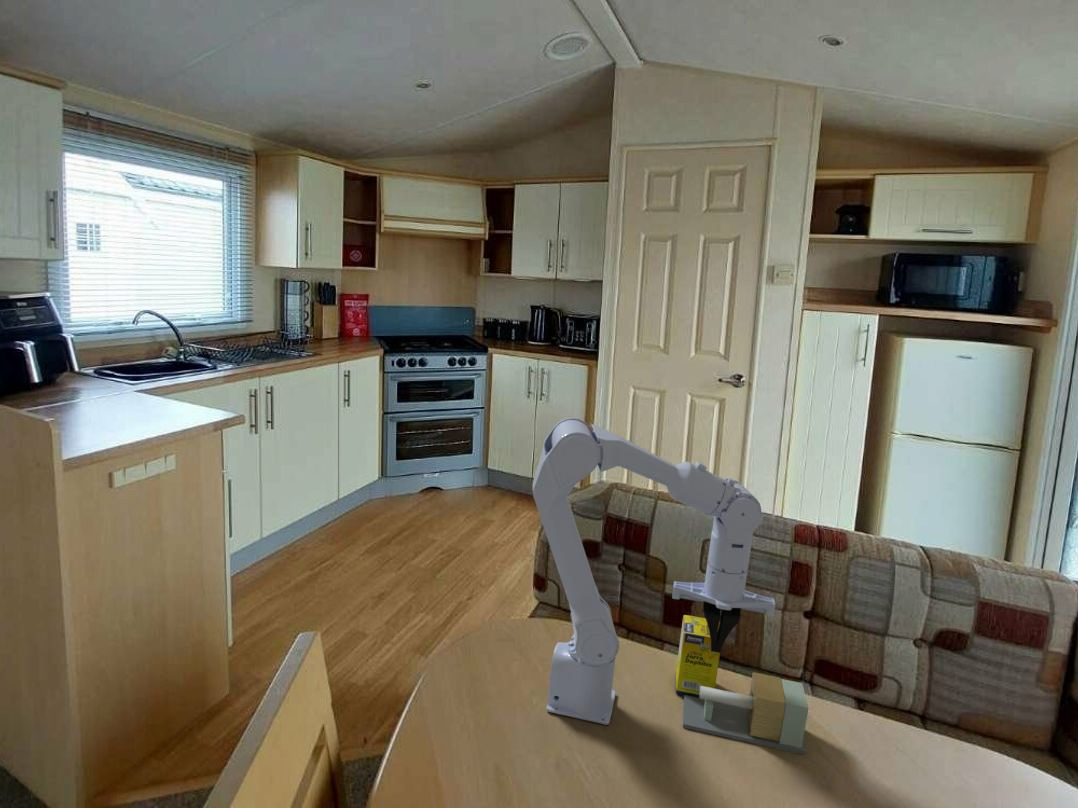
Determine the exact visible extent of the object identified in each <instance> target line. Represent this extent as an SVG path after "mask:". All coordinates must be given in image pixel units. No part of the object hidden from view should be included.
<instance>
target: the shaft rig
mask: <svg viewBox="0 0 1078 808" xmlns="http://www.w3.org/2000/svg"><path fill="white" fill-rule="evenodd" d="M781 683H782V688H783V693H784V698H785V703H786V704H785V710H784V716H783V722H782V728H781V734H780V740H779V741H774V740H770V739H765V738H761V737H756V736H752V735H750V730H749V721H748V712H747V709H751V710H752V707H753V696H749V694H748V695H746V694H743V693H739V692H733V691H728V690H724V689H723V690H722V689H719V688H715V689H714V688H710V687H705V686H700V695H699V698H696V697H691V696H687V695H684V696H683V711H682V712H683V715H682V719H683V720H682V728H683V729H687V730H693V731H696V732H701V733H706V734H709V735H715V736H720V737H723V738H729V739H732V740H737V741H742V742H744V743H745V742H746V743H749V742H750V744H754V743H755V744H754V745H758V744H759V746H762V747H768V748H771V749H777V750H781V751H786V752H791V753H795V754H800V755H803V756H805V755H806V752H807V751H806V747H805V742H804V736H805V730H806V726H807V725H806V724H807V720H808V713H809V705H808V701H807V697H806V694H805V689H804V685H803V682H799V681H793V680H789V679H784V678H781Z"/></svg>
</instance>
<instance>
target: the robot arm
mask: <svg viewBox="0 0 1078 808" xmlns="http://www.w3.org/2000/svg"><path fill="white" fill-rule="evenodd" d="M591 427H592V428H591ZM591 427H590V425H589V424H588V423H587V422H586V421H584V420H583V419H580V418H578V417H568V418H567V417H566V418H563V419H562V420H560V421H558V422H557V423H556V424H555V425H554V426H553V428H552V429H551V430H550V431H549V433H548V434H547V436H546V437H545V438H544V439H543V440H544V441H543V445H542V451H541V455H540V457H539V460H538V461H539V462H538V463H537V467H536V471H535V475H534V477H533V481H532V494H533V496H532V497H533V499H534V502H535V505H536V508H537V511H538V514H539V517H540V521H541V523H542V526H543V529H544V532H545V536H546V539H547V541H548V545H549V547H550V550H551V553H552V557H553V560H554V563H555V565H556V569H557V571H558V574H559V578H560V581H561V583H562V587H563V589H564V592H565V595H566V598H567V601H568V604H569V605H568V606H569V609H570V621H571V623H572V628H573V634H572V637H570V639H569V641H568V642H560V641H559V642H557V643H556V645H555V647H554V650H553V654H552V657H551V658H552V659H551V665H550V672H549V673H550V674H549V675H550V676H549V682H548V683H549V685H548V694H547V695H548V697H547V706H546V711H547V712H549V713H554V714H558V715H562V716H567V717H571V718H575V719H578V720H579V719H580V720H584V721H588V722H593V723H598V724H602V725H605V726H606V725H607V726H608V725H610V722H611V718H612V714H613V709H614V702H615V699H616V690H614V689H613V684H614V673H615V665H616V657H617V655H618V654H619V651H620V640H619V637H618V635H617V632H616V630H615V626H614V622H613V618H612V609H611V607H610V606H609V604H608V603H607V602H606V601H605V600H604V598H602V596H601V595H600V593H599V590H598V587H597V585H596V583H595V579H594V576H593V573H592V570H591V569H592V568H591V567H590V563H589V560H588V557H587V555H586V554H587V553H586V551H585V548H584V545H583V541H582V539H581V536H580V533H579V530H578V527H577V524H576V520H575V517H574V513H573V511H572V508H571V505H570V502H569V499H568V496H569V495H570V493H571V492H572V491H573V489H574V488H575V487H576V486H577V484H578V483H579V482H581V481H582V480H583V479H585V478H586V477H588V476H589V475H591V473H593V472H594V471H595V470H596V468H597V466H598V468H599V471H600V472H601V473H603V472H605V471H608V470H610V469H614V468H616V467H620V468H623V469H625V470H628V471H630V472H632V473H635V474H637V475H639V476H641V477H644V478H646V479H649V480H651V481H654V482H657V484H660V485H663V486H665V487H666V489H667V492H668V495H669V497H670V498H671V499H672V500H675V501H677V502H679V503H681V504H683V505H685V506H686V507H687V506H688V507H689V508H692V509H694V510H696V511H698V512H699V513H702V514H704V515H706V516H709V517H713V523H712V529H711V536H710V542H709V549H708V554H707V555H708V556H707V563H706V564H707V565H706V572H705V578H704V582H685V581H676V580H675V581H673V589H672V597H671V598H672V599H673V600H680V599H684V600H690V601H694V602H695V601H696V602H701V603H702V612H703V615H704V618H705V619H706V621H707V624H708V628H709V632H710V637H711V651H713V652H718V653H720V654H721V652H722V649H723V646H724V644H725V641H726V640H727V638H728V636H729V634H730V633H731V632H732V630H733V629H734V628H735V626H737V625H738V623H739V622H740V620H741V615H742V613H741V611H742V610H745V611H750V612H751V611H752V612H756V613H761V614H762V613H763V614H765V616H767V617H774V616H775V611H776V610H775V609H776V600H775V598H771V597H768V596H763V595H762V594H761V595H760V594H757V593H755V592H751V591H748V590H746V583H747V577H748V576H747V575H748V570H749V562H750V557H751V549H752V543H753V536H754V532H755V530H757V528H758V527H760V525H761V523H762V522H763V519H764V517H765V516H764V515H765V514H763V512H762V506H761V503H760V502H759V500H758V499H757V498H756V497H755V496H754V495H753V493H751V492H750V491H749V490H748V489H747V488H746V487H745V486H744V485H742V483H739V482H738V481H737V480H735V479H733V478H731V477H728V476H727V477H726V478H723V477H721V476H720V475H716V474H715V473H713V472H711V471H709V470H707V466H706V465H705V464H703V463H702V462H699V461H695V463H692V462H689V461H684V462H680V463H678V464H677V463H676V464H673V463H672V462H669V461H668V460H666V459H664V458H662V457H660V456H658V455H657V454H655V453H652V452H651V451H649V450H647V449H645V448H643V447H641V446H640V445H638V444H635V443H633V442H632V441H630V440H628V439H626V438H624V437H622V436H620V435H619V434H617V433H614V432H612V431H610V430H608V429H605V428H603V427H601V426H599V425H596V424H591ZM592 429H593V430H592ZM719 622H720V623H719ZM718 627H719V628H718Z"/></svg>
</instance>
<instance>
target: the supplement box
mask: <svg viewBox="0 0 1078 808" xmlns="http://www.w3.org/2000/svg"><path fill="white" fill-rule="evenodd" d="M719 623H720V622H719ZM718 628H719V627H718ZM720 656H721V653H718V652H713V651H711V637H710V632H709V628H708V624H707V621H706V619H705V617H699V616H693V615H687V614H684V615H683V617H682V623H681V632H680V638H679V646H678V653H677V662H676V668H675V694H676V695H679V696H683V697H684V695H687V696H691V697H696V698H699V695H700V686H705V687H710V688H714V689H716V685H717V677H718V671H719V662H720Z"/></svg>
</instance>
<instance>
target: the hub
mask: <svg viewBox="0 0 1078 808" xmlns="http://www.w3.org/2000/svg"><path fill="white" fill-rule="evenodd" d="M781 679H782V678H781V677H779V676H778V677H777V676H774V675H768V674H763V673H758V672H755V671H754V672H753V671H752V674H751V683H750V688H749V694H748V696H753V707H752V710H751V709H747V712H748V721H749V730H750V735H752V736H756V737H761V738H765V739H770V740H774V741H779V740H780V734H781V728H782V722H783V716H784V710H785V704H786V703H785V698H784V693H783V688H782V683H781Z"/></svg>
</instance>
